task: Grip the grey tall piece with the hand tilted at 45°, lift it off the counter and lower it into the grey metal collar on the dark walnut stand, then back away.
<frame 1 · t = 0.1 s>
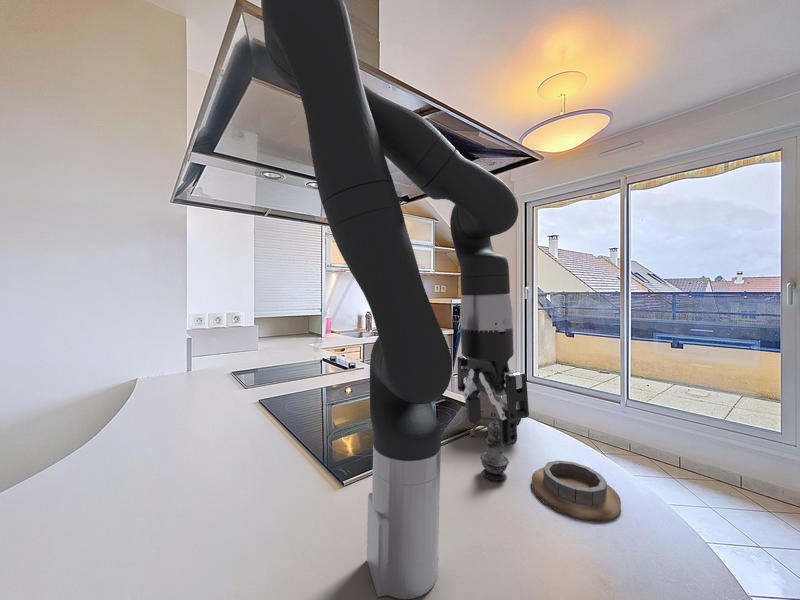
hand: (489, 431, 48), 17 cm above the table, tool pointing down, fingers open, 8 cm apart
grey tall piece: (493, 476, 67), on the table
tabletop clock: (491, 434, 88), on the table
socket stand: (573, 493, 62), on the table
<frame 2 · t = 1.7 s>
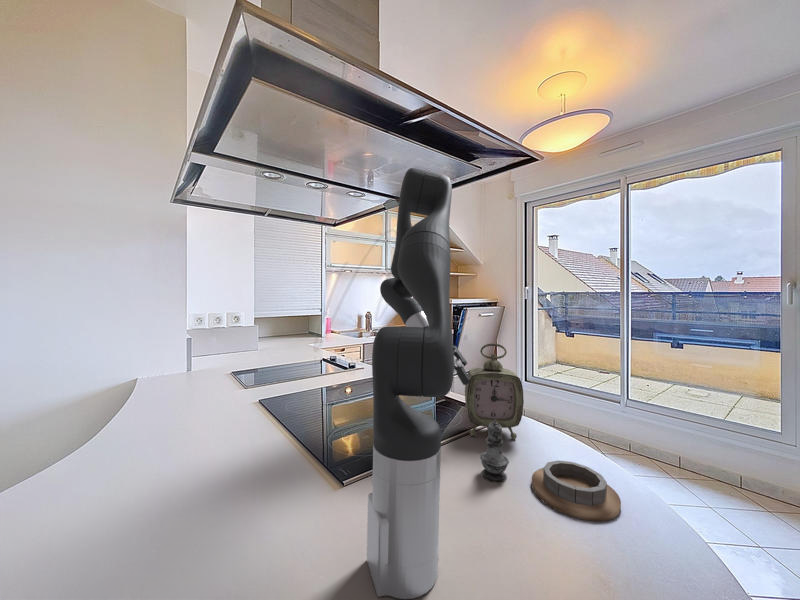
hand: (455, 386, 76), 16 cm above the table, tool tilted 45°, fingers open, 8 cm apart
nothing on the table moved.
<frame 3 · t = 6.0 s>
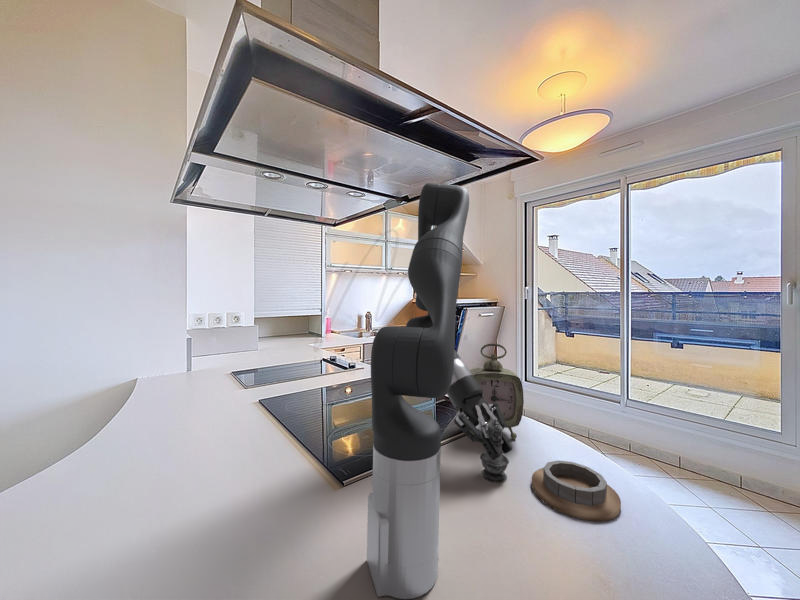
hand: (502, 454, 66), 5 cm above the table, tool tilted 45°, fingers closed on grey tall piece, 3 cm apart
grey tall piece: (493, 476, 67), on the table, touching gripper
everything else where it was.
when the fingers open (8 cm above the table, at t = 11.6 s): grey tall piece drops 1 cm, resting on socket stand.
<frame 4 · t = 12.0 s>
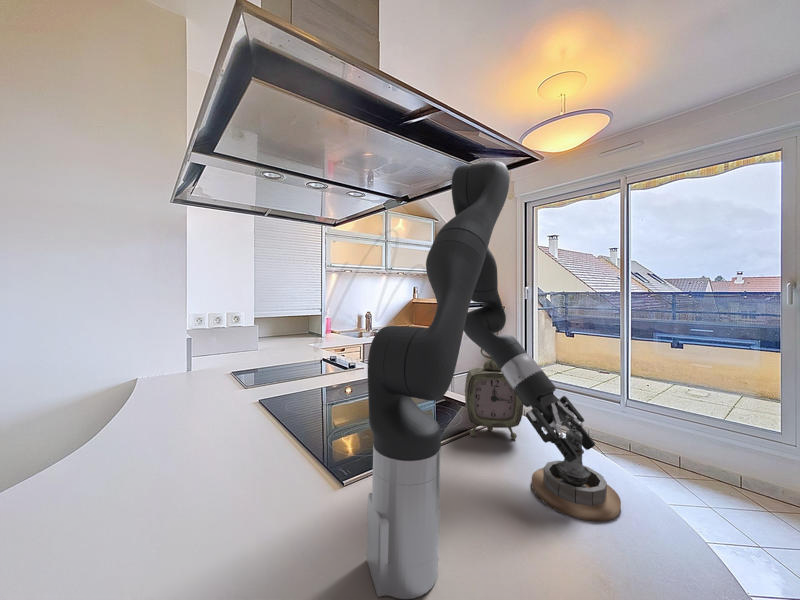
hand: (582, 453, 60), 8 cm above the table, tool tilted 45°, fingers open, 7 cm apart
grey tall piece: (572, 488, 62), point 1 cm above the table, touching socket stand
everything else where it was.
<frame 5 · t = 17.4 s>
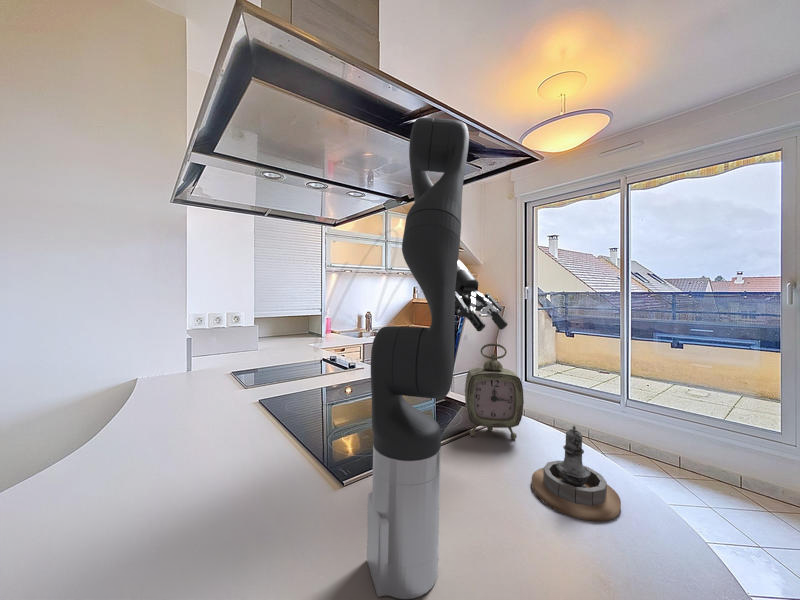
hand: (493, 328, 72), 31 cm above the table, tool tilted 45°, fingers open, 8 cm apart
nothing on the table moved.
at the end: grey tall piece 0.2 cm off-centre on the socket stand, point 1.0 cm above the socket stand's base; grey tall piece tilted 0°; the gripper is holding nothing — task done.
